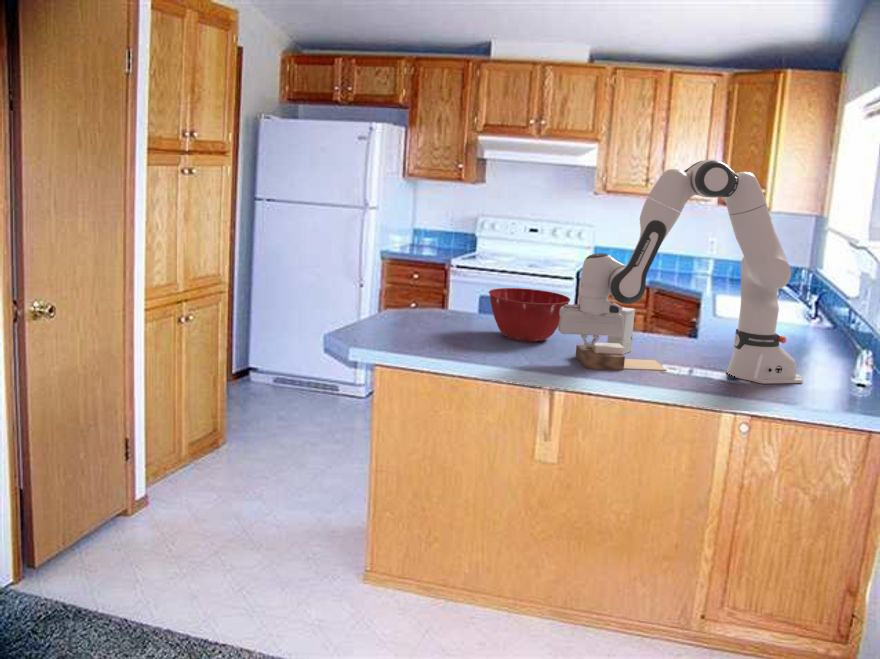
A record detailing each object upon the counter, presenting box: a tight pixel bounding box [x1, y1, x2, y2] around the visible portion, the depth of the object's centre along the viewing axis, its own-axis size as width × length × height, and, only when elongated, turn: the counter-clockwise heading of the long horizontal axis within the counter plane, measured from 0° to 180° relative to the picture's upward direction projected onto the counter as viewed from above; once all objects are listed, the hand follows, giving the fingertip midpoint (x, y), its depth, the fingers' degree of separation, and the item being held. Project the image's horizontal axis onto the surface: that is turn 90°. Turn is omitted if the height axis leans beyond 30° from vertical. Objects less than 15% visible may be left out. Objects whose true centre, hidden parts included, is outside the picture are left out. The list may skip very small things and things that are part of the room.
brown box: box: [575, 344, 626, 371], centre depth 276 cm, size 12×14×4 cm
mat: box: [624, 358, 667, 371], centre depth 278 cm, size 14×12×1 cm
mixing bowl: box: [488, 287, 571, 343], centre depth 305 cm, size 28×28×16 cm
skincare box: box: [606, 306, 636, 356], centre depth 293 cm, size 8×6×15 cm
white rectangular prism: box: [592, 341, 625, 355], centre depth 276 cm, size 9×6×2 cm, turn 94°
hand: (588, 348), depth 275 cm, fingers closed
